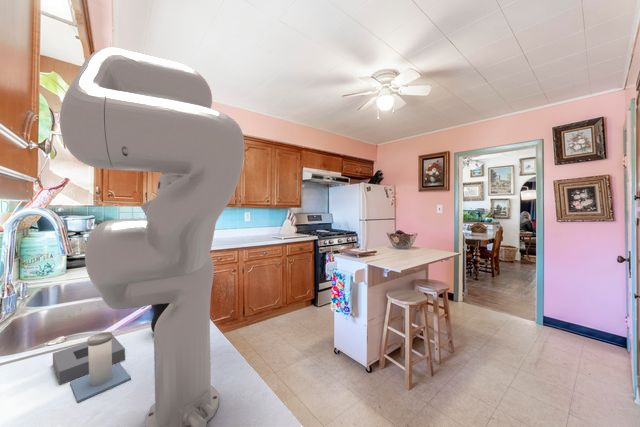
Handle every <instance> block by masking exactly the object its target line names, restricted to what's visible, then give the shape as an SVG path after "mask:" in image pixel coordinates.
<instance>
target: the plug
mask: <svg viewBox="0 0 640 427" xmlns="http://www.w3.org/2000/svg"><path fill="white" fill-rule="evenodd" d="M112 335H113V332H111V331H105V332H99V333H96V334H93V335H92V336H91V335H90V337H88V338H87V342H88V356H89V374H88V375H89V385H90V386H97V385H101V384H103V383H105V382H107V381H109V380H110V379H111V378H112V366H113V365H112Z"/></svg>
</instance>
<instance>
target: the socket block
mask: <svg viewBox="0 0 640 427" xmlns="http://www.w3.org/2000/svg"><path fill="white" fill-rule="evenodd" d="M125 360H126V348H125V347H124V345H123V344H121V342H120V341H119V340H118V339H117V338H116V337H115V336H114V334H112V366H113V365H115V364H118V363H121V362H124V361H125ZM52 365H53V369H54V372H55V375H56V378H57V381H58V384H59V386H60V385H64V384H66V383H70V382H72V381H74V380H77V379H79V378H82V377H85V376H87V375H89V356H88V341H87V342H83V343H81V344H77V345H74V346H72V347H68V348H65V349H61V350H58V351H55V352H52Z"/></svg>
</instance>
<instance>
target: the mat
mask: <svg viewBox="0 0 640 427" xmlns="http://www.w3.org/2000/svg"><path fill="white" fill-rule="evenodd" d="M130 380H132V377H131V375H129V373H128V372H127V370H126V369H125V368H124V366H123V365H122V364H121V362H118V363H116V364H113V365H112V378H111V379H110V380H109V381H107V382H105V383H103V384H101V385H97V386H90V385H89V374H87V375H85V376H82V377H79V378H77V379H74V380H72V381H69V385H70V388H71V390H72V392H73V395H74V398H75V400H76V403H77V404H79V403H82V402H83V401H86V400H88V399H90V398H92V397H95V396H97V395H99V394H102V393H105V392H106V391H108V390H111V389H114V388H115V387H117V386H119V385H122V384H124V383H126V382H129V381H130Z"/></svg>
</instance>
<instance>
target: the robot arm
mask: <svg viewBox="0 0 640 427" xmlns="http://www.w3.org/2000/svg"><path fill="white" fill-rule="evenodd" d="M212 103H213V95H212V90H211V88H210V84H208V82H207V80H206V78H204V76H202V75H201V74H200V73H199V72H197V71H196V70H194V68H191V67H189V66H187V65H185V64H182V63H179V62H175V61H172V60H168V59H164V58H159V57H155V56H151V55H146V54H144V53H140V52H139V53H138V52H134V51H129V50H126V49H123V48H118V47H102V48H100V49H98V50H95V51H94V52H92V53H91V54H89V56H88V57H87V58H86V59H85V60H84V62H83V63H82V65H81V66H80V68H79V70H78V72H77V73H76V75H75V77H74V78H73V80H72V82H71V83H70V85H69V87H68V89H67V90H66V92H65V94H64V97H63V100H62V102H61V106H60V112H59V128H60V134H61V138H62V141H63V142H64V145H65V147H66V149H67V150H68V151H69V153H70V155H72V156H73V157H74V158H75V159H76V160H78V161H79V162H81V163H83V164H84V165H87V166H89V167H92V168H97V169H102V170H103V169H104V170H111V171H112V170H113V171H117V170H118V171H132V172H148V173H149V172H150V173H161V175H159V178H158V182H157V188H156V196H155V197H153V198H152V199H150V200H148V201H145V202H144V203H142V204H140V208H141V210H142V211H143V212H144V214H145V217H146V218H145V217H144V218H143V217H142V218H119V219H110V220H106V221H103V222H101V223H98V225H95V227H94V228H93V229H92V230H91V232H90V233H89V235H88V237H87V239H86V242H85V248H84V263H85V267H86V271H87V272H86V273H87V275H88V277H89V280H90V281H91V283H92V284H93V287H94V289H95V290H96V291H97V293H98V295H99V296H100V298H101V299H102V300H103V302H104V304H105V305H107V307H108V308H110V309H112V310H129V309H137V308H141V307H147V306H152V305H155V304H161V303H162V304H164V303H170V304H169V305H168V307H167V308H166V309H165V310H164V311H163V313H162V314H161V316H160V317H159V319H158V320H157V322H156V325H155V328H154V333H153V353H154V354H153V355H154V356H153V357H154V358H153V361H154V366H153V367H154V404H153V405H152V406H151V407H150V408H149V410H148V411H147V413H146V416H145V421H144V422H145V423H144V427H207V423H208V422H209V421H210V420H211V419H212V418H213V417H214V416H215V414H216V412H217V410H218V407H219V405H220V394H219V390H218V389H217V388H216V387H215V386H213V385H212V384H211V382H212V380H211V378H212V377H211V376H212V375H211V372H212V371H211V298H212V288H213V281H214V275H215V262H214V260H213V257H212V256H211V255H210V253H211V251H212V246H213V242H214V236H215V232H216V231H215V230H216V225H217V222H218V219H219V218H220V216H221V215H222V213H224V210H225V209H226V208H227V206H228V205H229V203H230V201H231V199H232V197H233V196H234V193H235V192H236V190H237V187H238V184H239V181H240V179H241V174H242V171H243V166H244V159H245V158H244V157H245V138H244V134H243V131H242V128H241V126H240V125H239V123H238V122H237V121H235V119H233V118H232V117H231V116H229V115H227V114H225V113H223V112H222V111H219V110H216V109H213V108H212V106H213V105H212Z"/></svg>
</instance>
